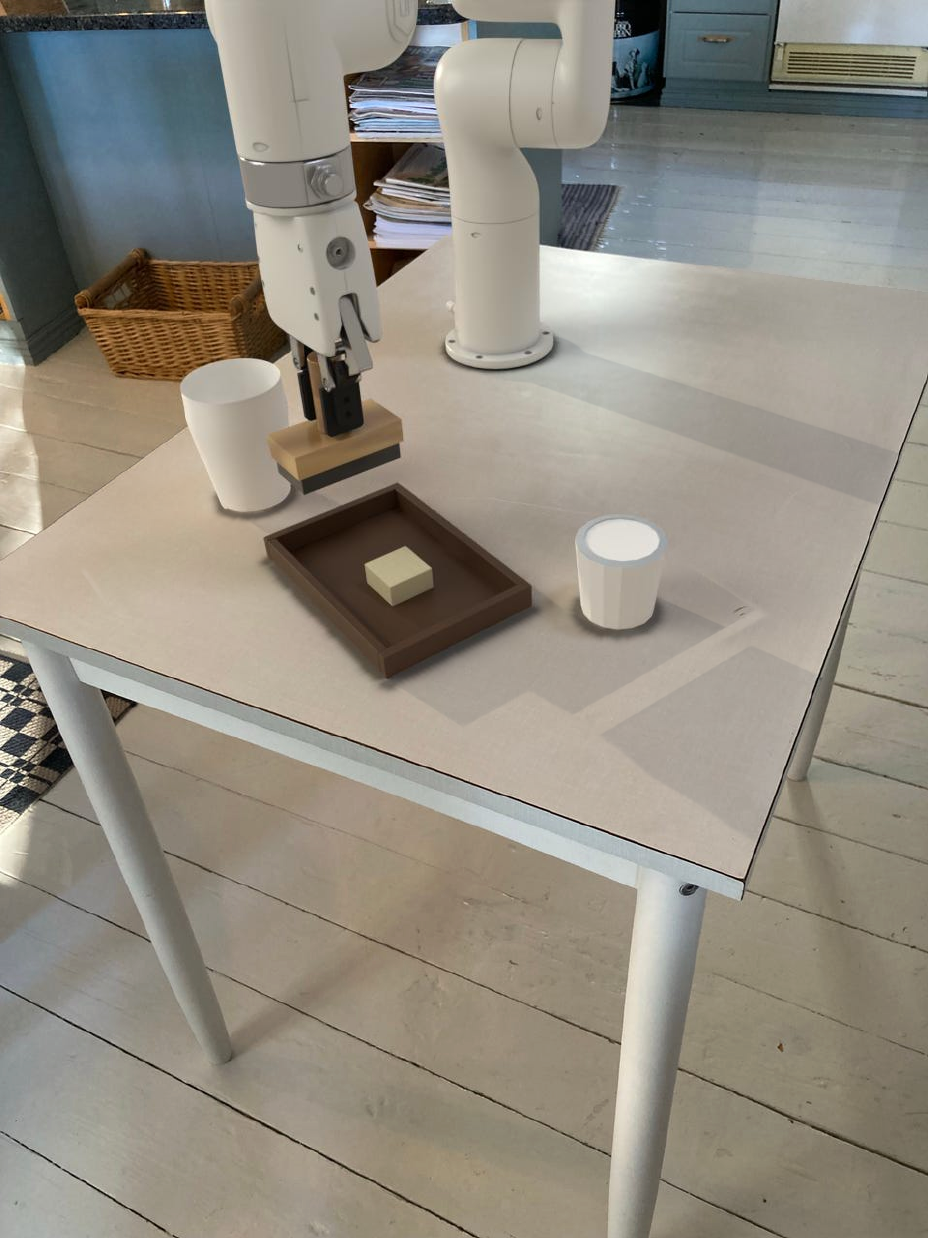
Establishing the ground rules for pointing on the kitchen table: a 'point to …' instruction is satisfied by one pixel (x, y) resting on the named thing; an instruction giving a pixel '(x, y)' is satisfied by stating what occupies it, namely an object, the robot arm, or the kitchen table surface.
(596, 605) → the white tapered tub
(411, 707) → the kitchen table surface
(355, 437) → the brush
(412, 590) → the sponge chip
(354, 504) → the tray
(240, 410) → the cup
